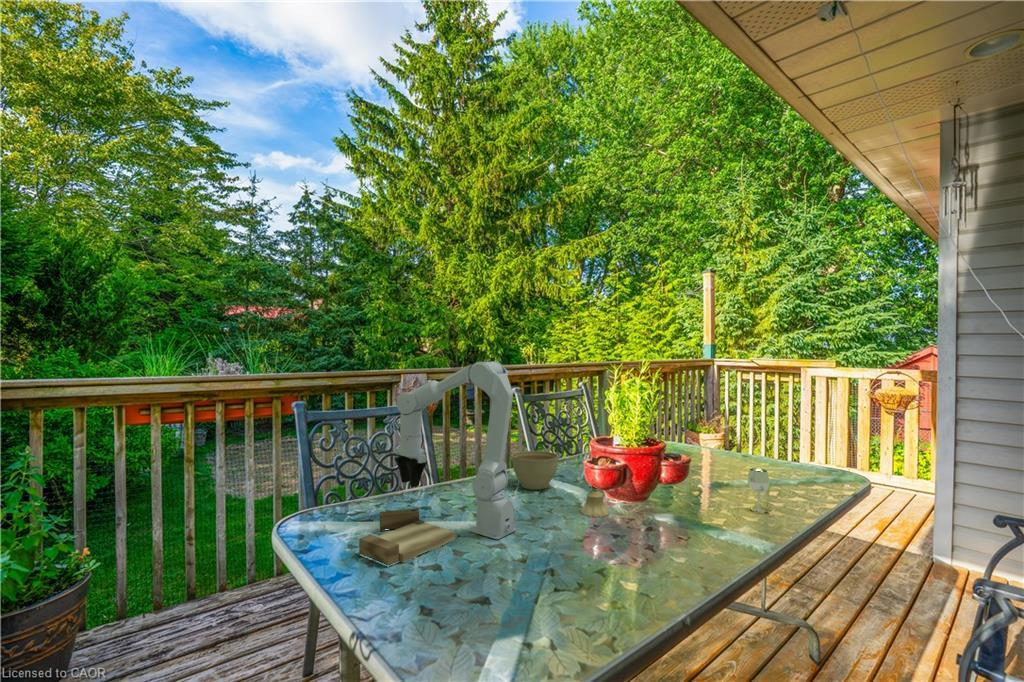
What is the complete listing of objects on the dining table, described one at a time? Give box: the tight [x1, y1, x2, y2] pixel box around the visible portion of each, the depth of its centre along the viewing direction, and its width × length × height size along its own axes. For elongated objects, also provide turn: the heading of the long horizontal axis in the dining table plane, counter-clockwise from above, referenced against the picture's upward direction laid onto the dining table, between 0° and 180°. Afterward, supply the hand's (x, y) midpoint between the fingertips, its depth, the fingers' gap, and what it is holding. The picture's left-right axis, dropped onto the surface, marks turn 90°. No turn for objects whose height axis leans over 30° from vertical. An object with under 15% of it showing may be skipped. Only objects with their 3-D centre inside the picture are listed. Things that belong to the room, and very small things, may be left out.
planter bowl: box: [511, 450, 559, 490], centre depth 171 cm, size 16×16×11 cm
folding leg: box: [379, 507, 420, 530], centre depth 131 cm, size 3×10×4 cm, turn 109°
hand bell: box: [580, 457, 610, 518], centre depth 144 cm, size 8×8×16 cm
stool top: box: [358, 519, 457, 565], centre depth 118 cm, size 13×20×4 cm, turn 144°
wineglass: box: [747, 467, 770, 512], centre depth 147 cm, size 6×6×12 cm
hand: (410, 484), depth 138 cm, fingers open, 5 cm apart
